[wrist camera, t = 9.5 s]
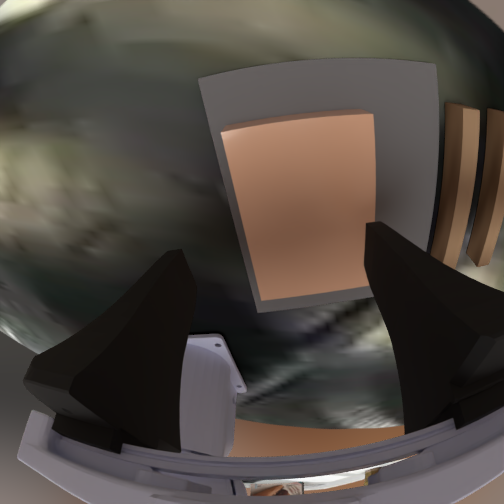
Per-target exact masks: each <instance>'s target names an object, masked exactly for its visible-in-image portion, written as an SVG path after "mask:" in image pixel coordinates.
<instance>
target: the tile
mask: <svg viewBox="0 0 504 504" xmlns="http://www.w3.org/2000/svg"><path fill="white" fill-rule="evenodd" d="M221 135H222V140H223V144H224V148H225V152H226V156H227V160H228V165H229V169H230V173H231V177H232V181H233V185H234V190H235V194H236V198H237V202H238V206H239V210H240V214H241V219H242V223H243V227H244V231H245V235H246V239H247V243H248V247H249V252H250V256H251V260H252V264H253V268H254V272H255V276H256V280H257V285H258V289H259V293H260V297H261V301H264V300H272V299H280V298H288V297H296V296H303V295H311V294H318V293H325V292H331V291H338V290H345V289H351V288H357V287H363V286H369V282H368V279H367V275H366V272H365V268H364V251H365V230H366V223H369V222H375V200H376V159H375V133H374V118H373V114H372V113H370V112H367V111H365V110H362V109H348V110H333V111H321V112H311V113H301V114H293V115H285V116H278V117H271V118H265V119H259V120H253V121H247V122H242V123H236V124H231V125H226V126H225V127H224V129H223V130H222V131H221Z"/></svg>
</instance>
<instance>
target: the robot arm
mask: <svg viewBox="0 0 504 504" xmlns="http://www.w3.org/2000/svg"><path fill="white" fill-rule="evenodd" d="M364 268H365V272H366V275H367V279H368V282H369V285H370V288H371V291H372V293H373V295H374V298H375V300H376V303H377V305H378V307H379V310H380V312H381V315H382V317H383V320H384V322H385V325H386V327H387V330H388V333H389V336H390V339H391V342H392V346H393V350H394V355H395V359H396V364H397V369H398V374H399V380H400V386H401V394H402V402H403V412H404V428H405V435H403V436H399V437H395V438H392V439H388V440H384V441H380V442H376V443H372V444H368V445H363V446H358V447H353V448H347V449H341V450H335V451H328V452H321V453H313V454H304V455H294V456H277V457H227V456H228V455H229V453H230V451H231V450H232V447H233V442H234V427H235V413H236V398H237V393H244V392H246V391H247V387H246V385H245V383H244V381H243V379H242V376H241V374H240V372H239V370H238V368H237V366H236V364H235V362H234V360H233V357H232V355H231V353H230V351H229V349H228V347H227V344H226V342H225V340H224V338H223V336H222V335H220V334H202V335H189V332H190V328H191V324H192V319H193V315H194V310H195V304H196V293H197V286H196V283H195V281H194V278H193V276H192V274H191V271H190V269H189V266H188V264H187V261H186V259H185V256H184V254H183V251H182V249H178V250H172V251H167V252H166V253H165V254H164V255H163V256H162V257H161V258H160V259H159V260H158V261H157V262H156V263H155V264H154V265H153V266H152V267H151V268H150V269H149V270H148V271H147V272H146V273H145V274H144V275H143V276H142V277H141V278H140V279H139V280H138V281H137V282H136V283H135V284H134V285H133V286H132V287H131V288H130V289H129V290H128V291H127V292H126V293H125V294H124V295H123V296H122V297H121V298H120V299H119V300H118V301H117V302H115V303H114V304H113V305H112V306H111V307H110V308H109V309H107V310H106V311H105V312H104V313H103V314H101V315H100V316H99V317H98V318H96V319H95V320H94V321H92V322H91V323H90V324H88V325H87V326H86V327H84V328H83V329H82V330H80V331H79V332H77V333H76V334H74V335H73V336H71V337H70V338H68V339H66V340H65V341H63V342H61V343H60V344H58V345H56V346H54V347H52V348H50V349H48V350H47V351H45V352H43V353H41V354H39V355H37V356H35V357H34V358H33V360H32V362H31V364H30V366H29V368H28V370H27V373H26V375H25V377H24V379H23V383H24V386H25V387H26V389H27V390H28V391H29V392H30V393H31V394H33V395H34V396H35V397H36V398H37V399H39V400H40V401H41V402H43V403H44V404H45V405H46V406H48V407H49V408H50V409H52V410H53V411H54V412H56V417H55V419H54V418H52V417H50V416H48V415H46V414H43V413H41V412H38V411H36V410H32V411H31V414H30V417H29V419H28V422H27V425H26V429H25V431H24V434H23V438H22V441H21V444H20V448H19V451H18V455H17V458H18V459H19V460H20V461H22V462H23V463H25V464H26V465H28V466H29V467H31V468H32V469H34V470H35V471H37V472H38V473H40V474H41V475H43V476H44V477H46V478H47V479H49V480H50V481H52V482H53V483H55V484H56V485H58V486H59V487H61V488H62V489H64V490H65V491H67V492H69V493H70V494H72V495H74V496H75V497H77V498H79V499H81V500H83V501H85V502H86V503H88V504H454V503H456V502H458V501H460V500H461V499H463V498H465V497H467V496H468V495H470V494H472V493H473V492H475V491H477V490H478V489H480V488H481V487H483V486H485V485H486V484H488V483H489V482H491V481H492V480H493V479H495V478H496V477H498V476H499V475H501V474H502V473H503V472H504V292H502V291H500V290H497V289H494V288H492V287H489V286H487V285H485V284H482V283H480V282H478V281H476V280H474V279H472V278H470V277H468V276H466V275H464V274H462V273H460V272H458V271H456V270H455V269H453V268H451V267H449V266H447V265H446V264H444V263H442V262H441V261H439V260H437V259H436V258H434V257H433V256H431V255H430V254H428V253H427V252H425V251H424V250H422V249H421V248H419V247H418V246H416V245H415V244H413V243H412V242H410V241H409V240H408V239H406V238H405V237H403V236H402V235H401V234H399V233H398V232H396V231H395V230H393V229H392V228H391V227H389V226H388V225H386V224H384V223H383V222H381V221H377V222H369V223H366V230H365V251H364ZM415 454H417V455H415ZM412 455H415V456H412ZM409 456H412V457H410V458H407V459H405V460H402V461H399V462H396V463H393V464H391V465H388V466H384V467H381V468H380V469H379V472H377V473H375V474H373V475H370V476H369V477H368V478H367V479H368V485H366V486H361V487H355V488H350V489H344V490H337V491H330V492H322V493H312V494H301V495H284V496H247V492H246V488H245V486H244V484H243V482H242V481H241V480H275V479H293V478H305V477H315V476H323V475H330V474H337V473H343V472H349V471H354V470H359V469H364V468H368V467H373V466H377V465H381V464H385V463H389V462H392V461H396V460H399V459H403V458H406V457H409Z"/></svg>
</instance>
